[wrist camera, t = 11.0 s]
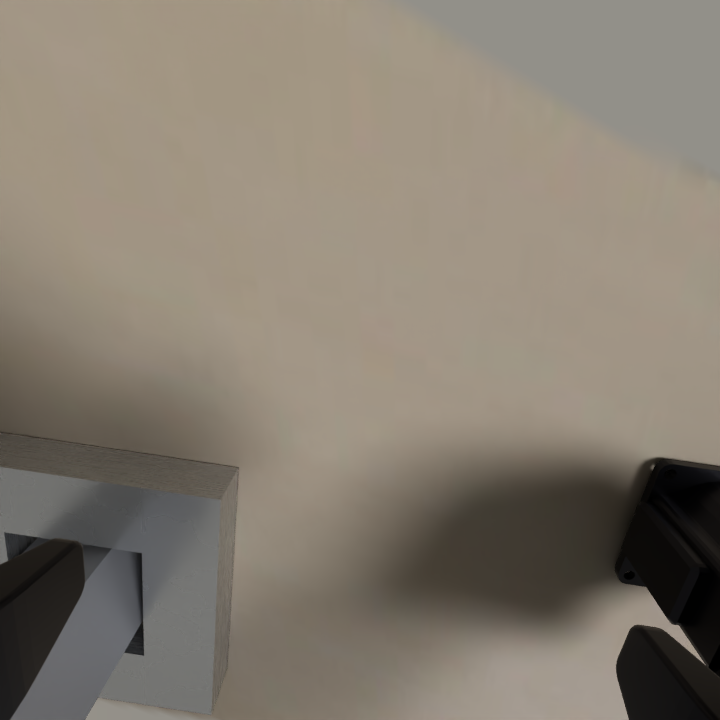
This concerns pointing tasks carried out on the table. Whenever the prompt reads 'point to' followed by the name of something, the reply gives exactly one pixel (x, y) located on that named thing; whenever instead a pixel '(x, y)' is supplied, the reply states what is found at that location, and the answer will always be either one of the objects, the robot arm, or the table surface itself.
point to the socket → (143, 535)
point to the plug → (89, 637)
